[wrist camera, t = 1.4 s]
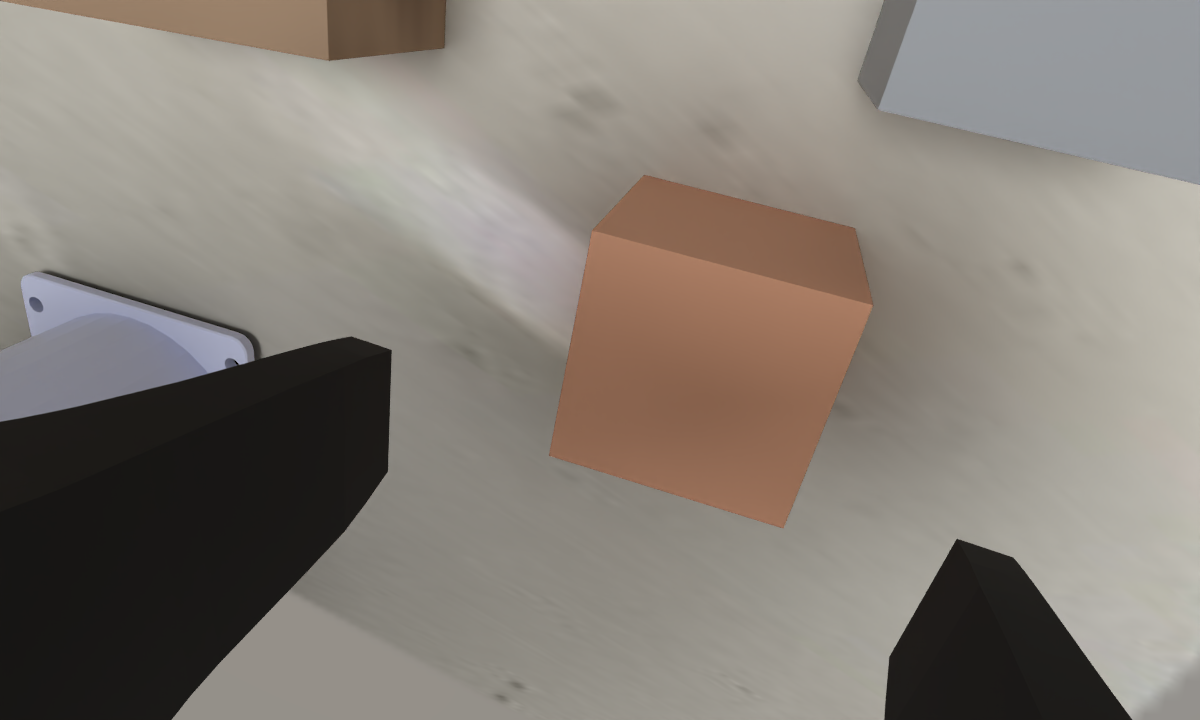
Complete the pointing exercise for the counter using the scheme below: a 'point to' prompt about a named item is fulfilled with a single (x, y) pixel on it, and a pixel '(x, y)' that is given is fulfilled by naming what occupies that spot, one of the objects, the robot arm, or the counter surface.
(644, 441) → the terracotta block
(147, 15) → the walnut base
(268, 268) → the counter surface
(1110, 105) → the grey block
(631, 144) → the counter surface
